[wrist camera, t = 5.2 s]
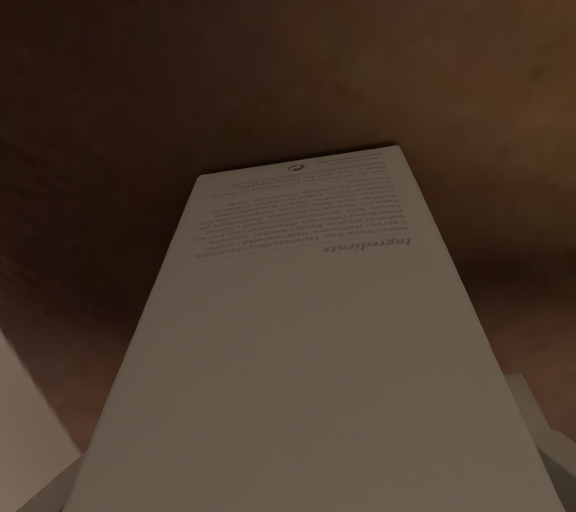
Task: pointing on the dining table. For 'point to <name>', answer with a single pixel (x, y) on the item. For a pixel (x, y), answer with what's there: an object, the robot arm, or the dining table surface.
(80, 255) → the dining table surface
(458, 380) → the small box
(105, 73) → the dining table surface
